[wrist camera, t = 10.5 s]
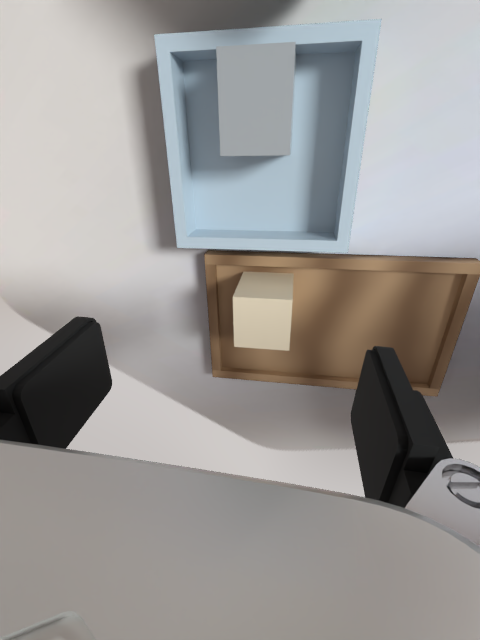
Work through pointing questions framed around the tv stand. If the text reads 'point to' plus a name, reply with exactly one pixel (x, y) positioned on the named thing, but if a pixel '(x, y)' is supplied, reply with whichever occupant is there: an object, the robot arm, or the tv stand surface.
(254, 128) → the gray block
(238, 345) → the cream rectangular block
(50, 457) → the robot arm
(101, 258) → the tv stand surface
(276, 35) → the light blue tray
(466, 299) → the walnut tray
